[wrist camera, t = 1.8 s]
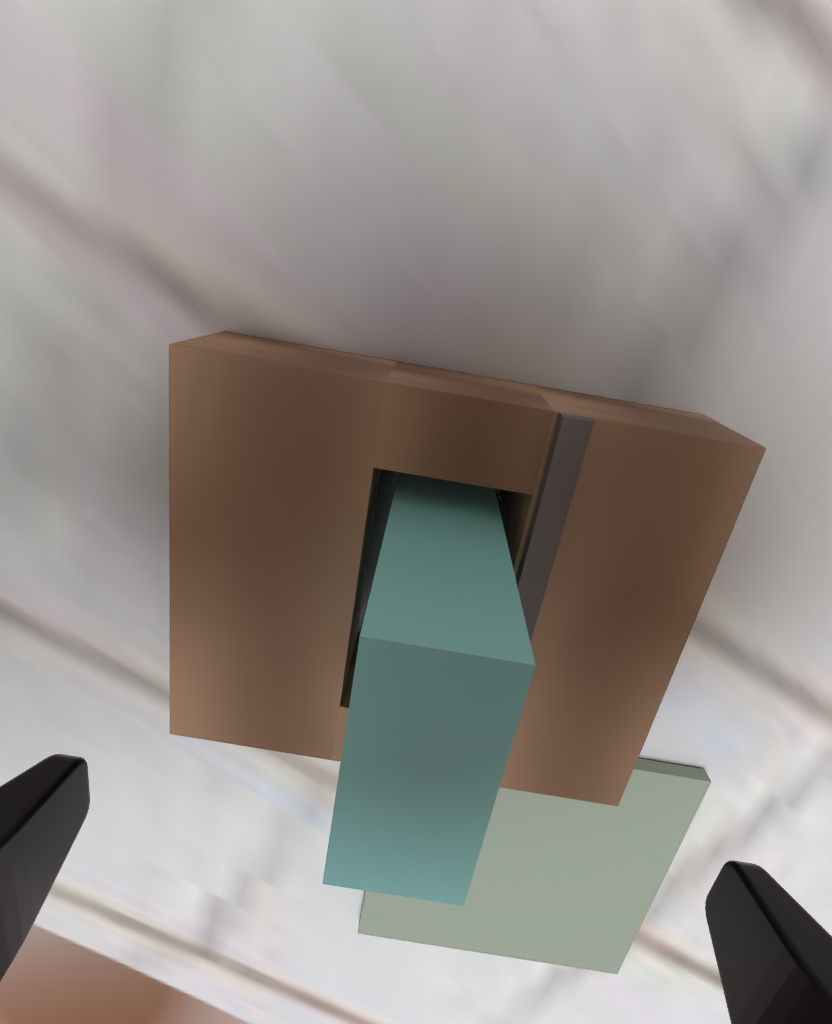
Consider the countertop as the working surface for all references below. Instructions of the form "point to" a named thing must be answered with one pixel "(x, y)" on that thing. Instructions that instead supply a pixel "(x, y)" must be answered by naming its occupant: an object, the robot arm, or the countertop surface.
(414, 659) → the tall teal box
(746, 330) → the countertop surface
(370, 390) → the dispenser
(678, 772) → the mat
